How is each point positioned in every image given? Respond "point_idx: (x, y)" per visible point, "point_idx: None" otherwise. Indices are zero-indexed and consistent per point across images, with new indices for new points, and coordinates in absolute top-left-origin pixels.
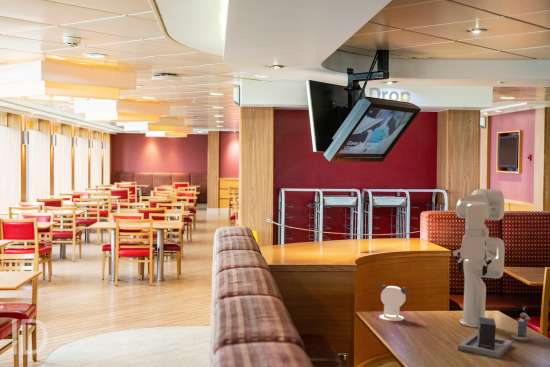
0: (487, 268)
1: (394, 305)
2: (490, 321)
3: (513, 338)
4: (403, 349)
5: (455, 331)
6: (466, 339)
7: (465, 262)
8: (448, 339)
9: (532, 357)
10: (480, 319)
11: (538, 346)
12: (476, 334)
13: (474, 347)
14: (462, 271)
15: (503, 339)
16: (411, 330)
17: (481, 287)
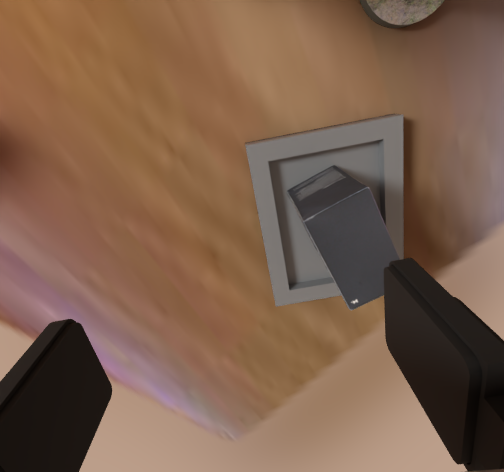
0: (501, 340)
1: None
2: (376, 255)
3: (380, 21)
4: (170, 387)
5: (140, 96)
6: (265, 236)
7: None
8: (190, 220)
9: (482, 188)
10: (329, 259)
11: (485, 23)
12: (260, 145)
13: (325, 293)
14: (88, 341)
15: (369, 125)
16: (38, 224)
17: None
